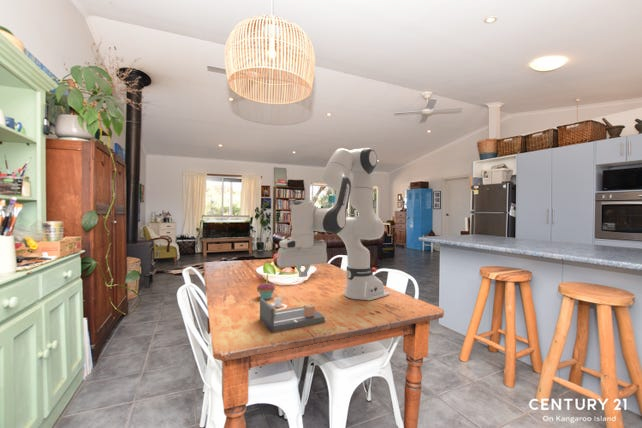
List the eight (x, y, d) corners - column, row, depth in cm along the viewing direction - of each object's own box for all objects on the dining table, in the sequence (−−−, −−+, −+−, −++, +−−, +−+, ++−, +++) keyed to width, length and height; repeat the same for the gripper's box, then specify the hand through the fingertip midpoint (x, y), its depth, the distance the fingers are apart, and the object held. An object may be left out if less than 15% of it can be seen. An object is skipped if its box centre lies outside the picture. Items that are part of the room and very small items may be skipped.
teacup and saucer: (267, 311, 121) (267, 302, 120) (265, 305, 128) (265, 296, 128) (288, 310, 123) (288, 300, 123) (285, 304, 131) (285, 295, 131)
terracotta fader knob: (311, 313, 111) (311, 304, 111) (314, 315, 109) (314, 306, 109) (304, 314, 110) (304, 305, 110) (307, 317, 107) (307, 307, 107)
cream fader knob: (273, 311, 113) (273, 302, 112) (275, 314, 110) (275, 305, 110) (265, 313, 111) (265, 303, 111) (268, 315, 108) (268, 306, 108)
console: (308, 310, 122) (308, 291, 122) (325, 322, 109) (325, 301, 108) (259, 318, 112) (259, 298, 112) (271, 333, 99) (271, 309, 99)
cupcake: (277, 298, 137) (277, 273, 137) (261, 301, 133) (261, 275, 132) (270, 294, 144) (270, 270, 144) (254, 296, 140) (254, 272, 139)
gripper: (322, 238, 120) (323, 271, 120) (275, 242, 111) (275, 277, 111) (329, 240, 114) (330, 275, 115) (280, 244, 105) (281, 281, 105)
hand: (303, 276), depth 113 cm, fingers closed
